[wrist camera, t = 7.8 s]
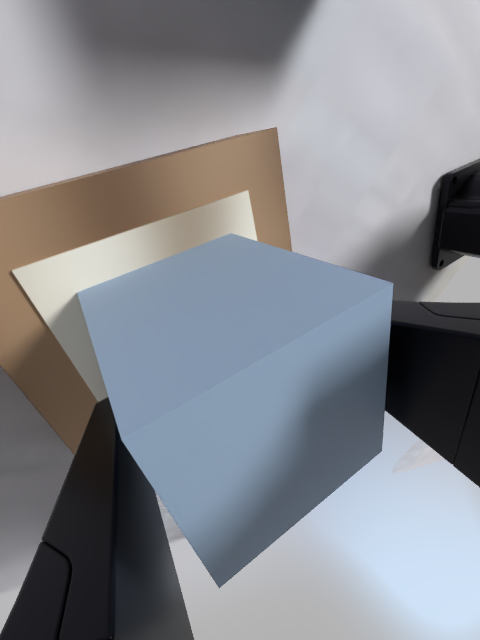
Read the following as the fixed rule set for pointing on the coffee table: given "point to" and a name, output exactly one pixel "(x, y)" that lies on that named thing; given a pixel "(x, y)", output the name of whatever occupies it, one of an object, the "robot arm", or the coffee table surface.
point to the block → (243, 385)
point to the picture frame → (117, 253)
